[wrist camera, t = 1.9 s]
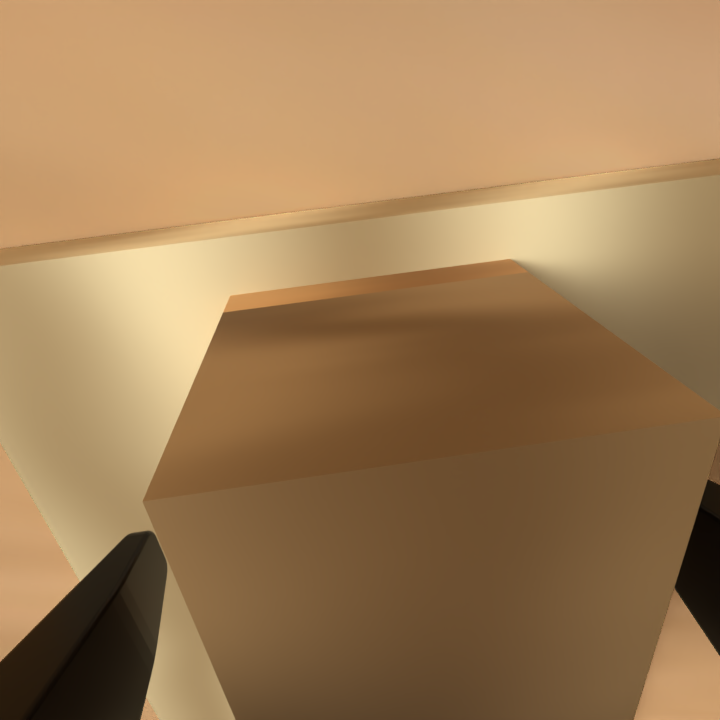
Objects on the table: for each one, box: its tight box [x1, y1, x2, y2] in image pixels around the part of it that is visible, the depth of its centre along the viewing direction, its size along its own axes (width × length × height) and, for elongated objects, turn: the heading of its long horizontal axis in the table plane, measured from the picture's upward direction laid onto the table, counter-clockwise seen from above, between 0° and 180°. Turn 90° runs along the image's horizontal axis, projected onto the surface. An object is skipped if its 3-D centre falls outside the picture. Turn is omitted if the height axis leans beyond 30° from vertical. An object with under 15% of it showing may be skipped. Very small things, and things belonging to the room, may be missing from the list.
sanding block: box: [142, 259, 720, 720], centre depth 8 cm, size 5×8×5 cm, turn 6°
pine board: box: [0, 159, 720, 720], centre depth 14 cm, size 15×22×2 cm
